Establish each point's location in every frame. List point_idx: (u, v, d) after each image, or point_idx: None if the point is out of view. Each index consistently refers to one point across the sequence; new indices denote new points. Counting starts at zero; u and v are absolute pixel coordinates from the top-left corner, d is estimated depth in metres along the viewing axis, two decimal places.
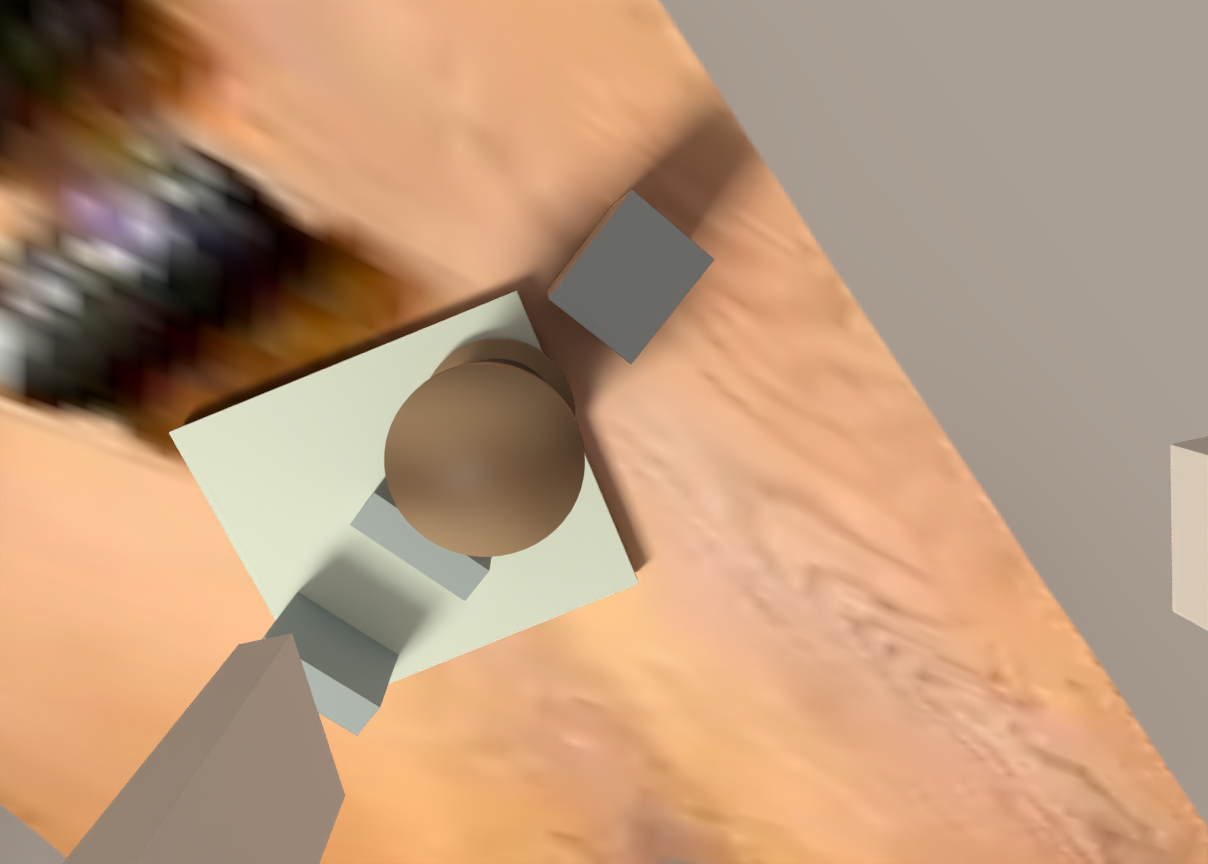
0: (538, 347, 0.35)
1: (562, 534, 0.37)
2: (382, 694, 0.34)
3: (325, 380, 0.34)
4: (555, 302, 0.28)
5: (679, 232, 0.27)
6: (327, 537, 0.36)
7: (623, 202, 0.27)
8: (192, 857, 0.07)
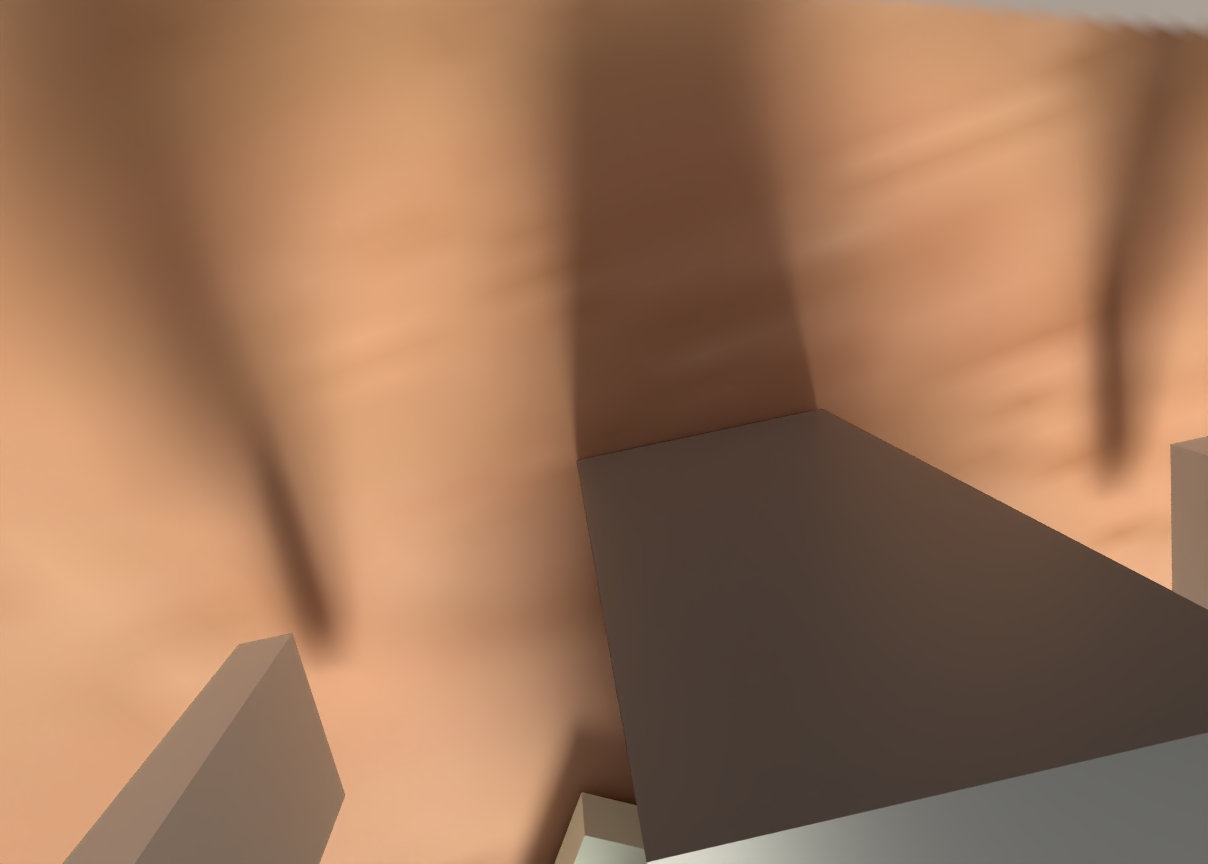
0: None
1: None
2: None
3: None
4: None
5: (1074, 772, 0.04)
6: None
7: None
8: (192, 857, 0.07)
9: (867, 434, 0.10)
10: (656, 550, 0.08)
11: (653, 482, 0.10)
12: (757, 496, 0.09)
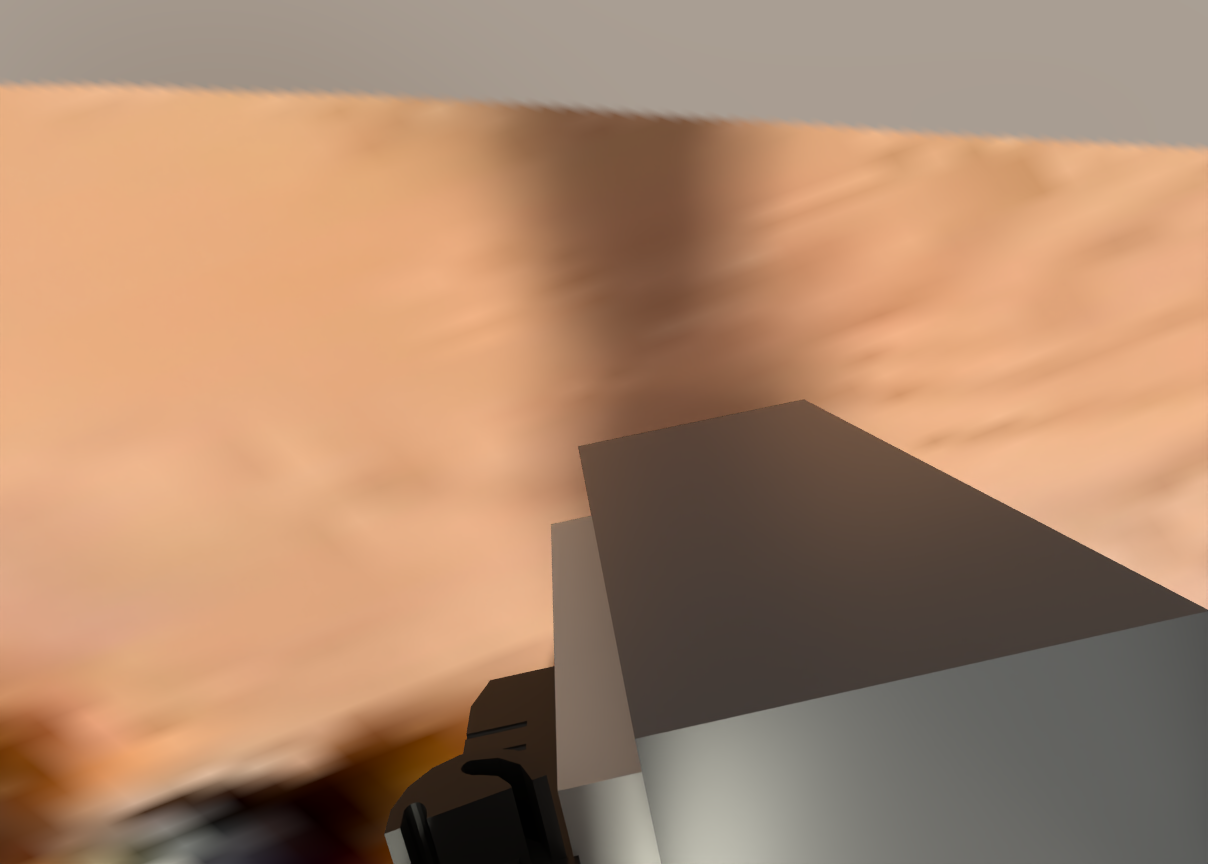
0: None
1: None
2: None
3: None
4: None
5: (974, 671, 0.05)
6: None
7: (654, 802, 0.05)
8: None
9: (842, 421, 0.11)
10: (649, 518, 0.09)
11: (647, 463, 0.11)
12: (739, 475, 0.10)
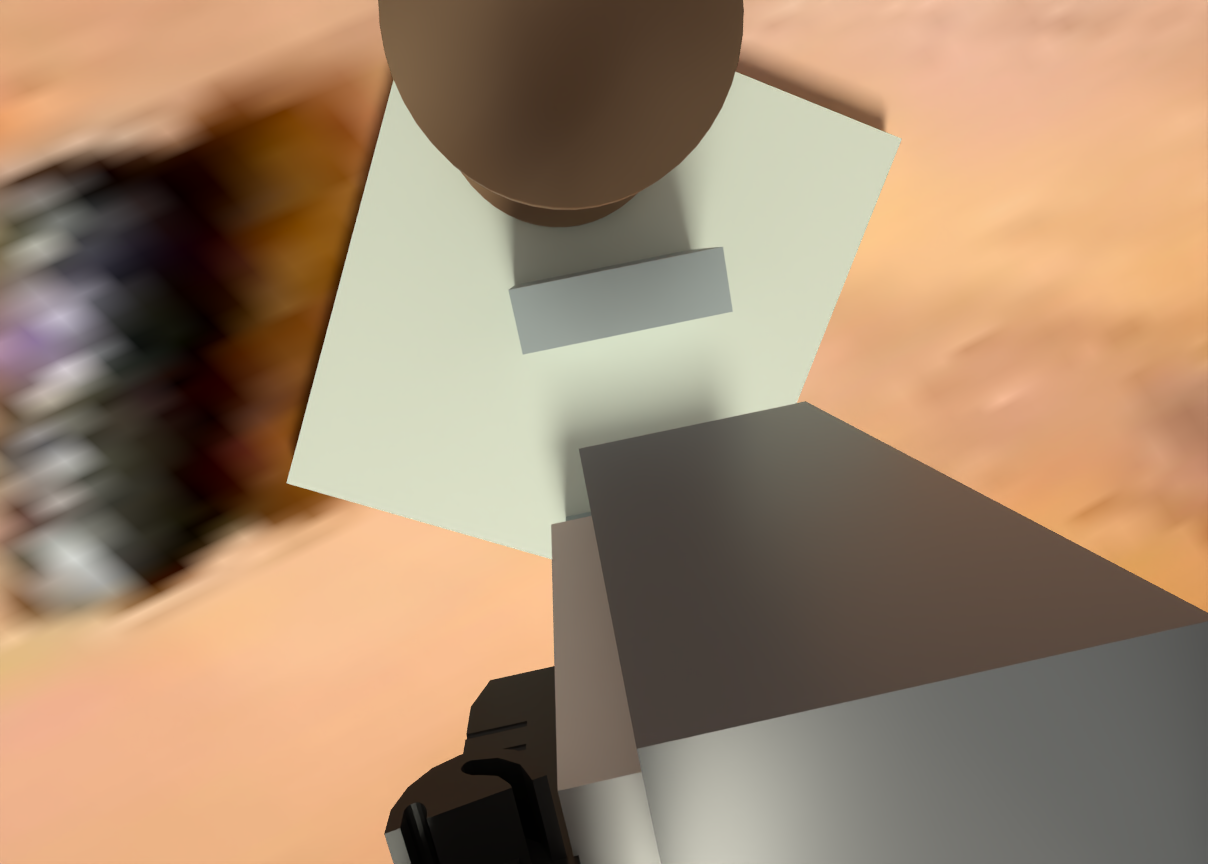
0: None
1: (761, 173, 0.24)
2: None
3: (359, 271, 0.24)
4: None
5: (980, 680, 0.05)
6: (534, 433, 0.26)
7: (656, 813, 0.05)
8: None
9: (844, 423, 0.11)
10: (650, 523, 0.09)
11: (648, 466, 0.11)
12: (741, 478, 0.10)
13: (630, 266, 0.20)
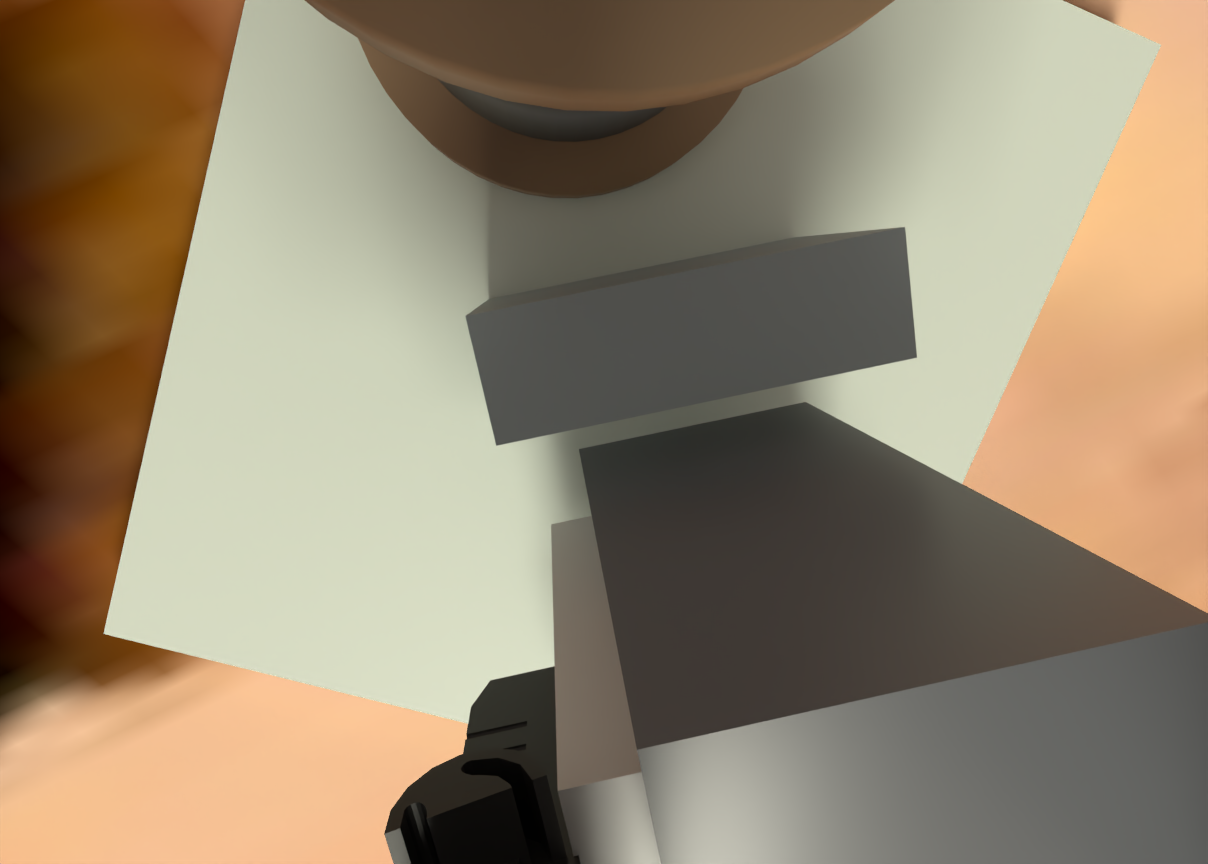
0: None
1: (918, 104, 0.14)
2: None
3: (213, 275, 0.14)
4: None
5: (980, 680, 0.05)
6: (523, 546, 0.15)
7: (656, 813, 0.05)
8: None
9: (844, 423, 0.11)
10: (650, 522, 0.09)
11: (649, 466, 0.11)
12: (741, 478, 0.10)
13: (717, 267, 0.10)
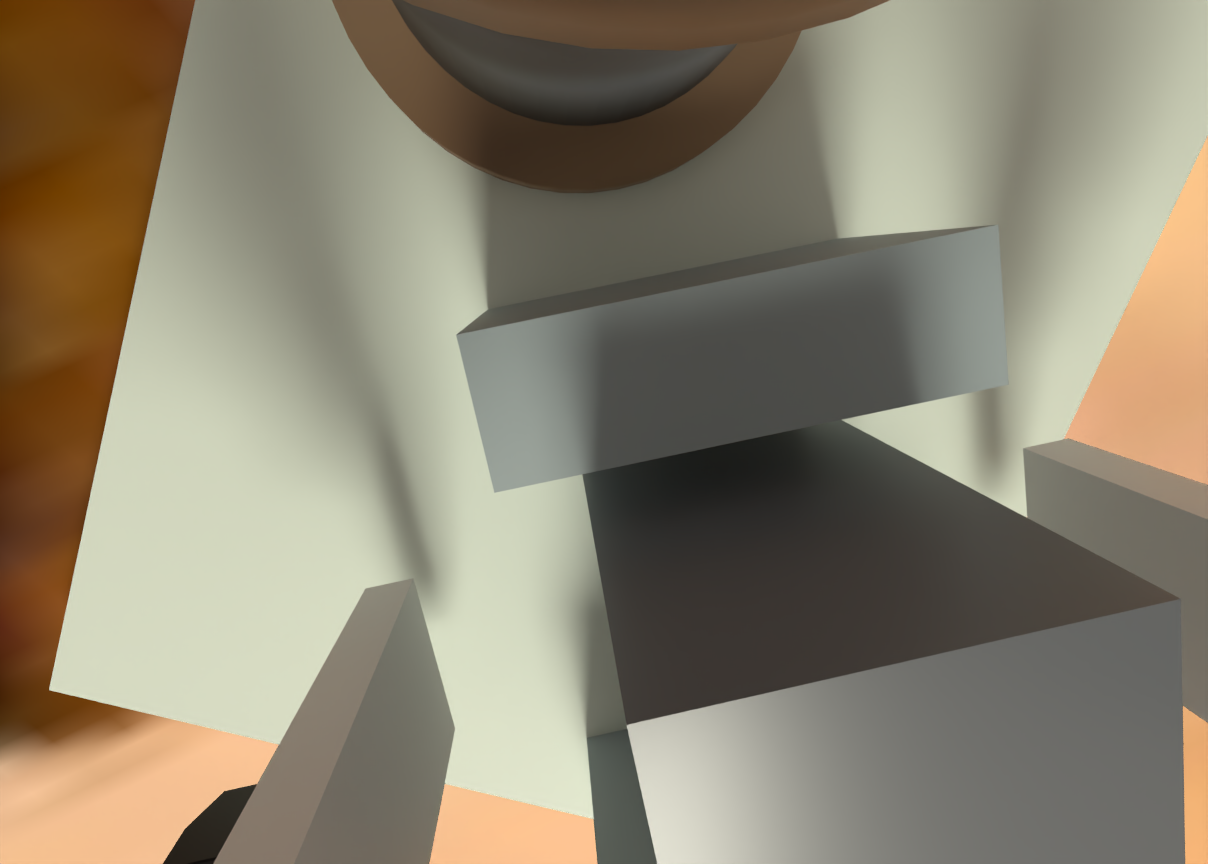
0: None
1: (984, 84, 0.12)
2: None
3: (169, 282, 0.12)
4: None
5: (953, 659, 0.05)
6: (526, 590, 0.13)
7: (646, 786, 0.05)
8: (374, 751, 0.08)
9: None
10: (645, 515, 0.09)
11: (645, 462, 0.11)
12: (734, 471, 0.10)
13: (766, 274, 0.08)
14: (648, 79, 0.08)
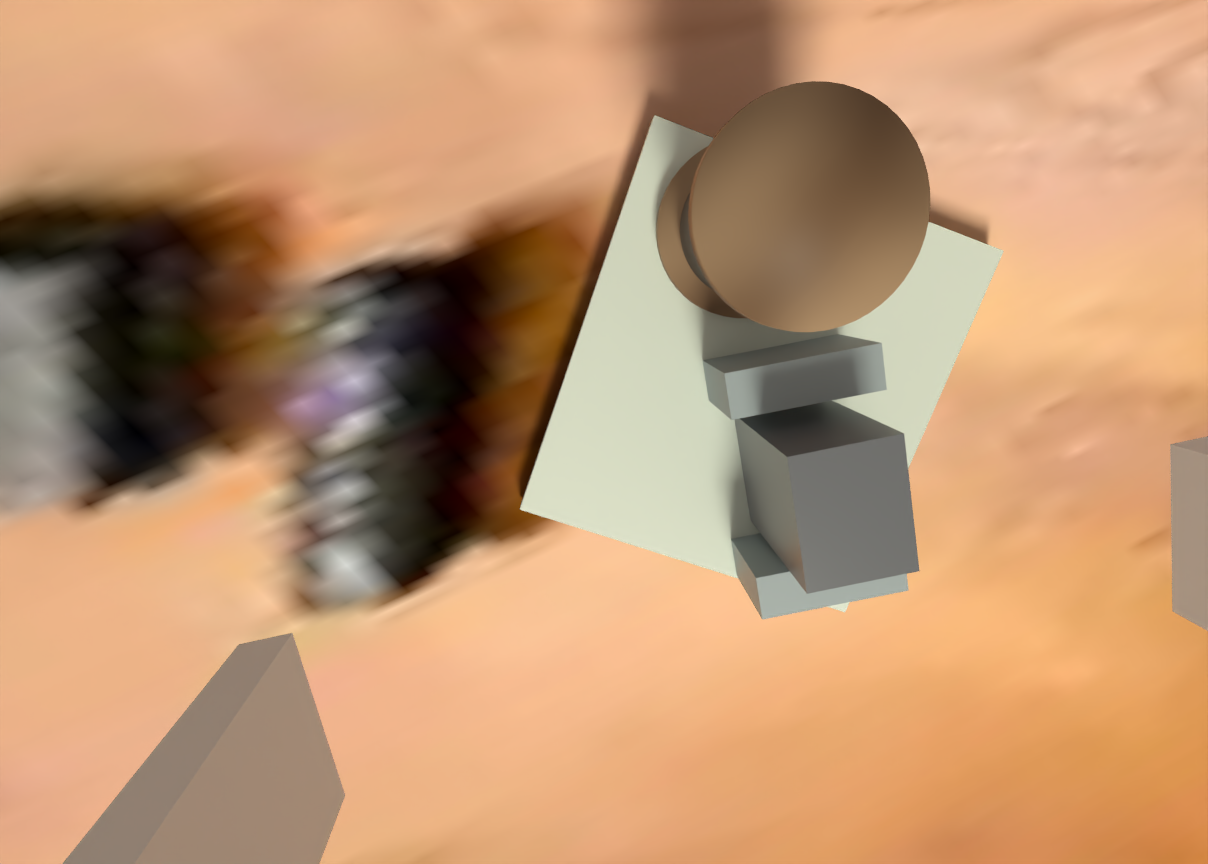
0: None
1: None
2: None
3: (586, 349, 0.31)
4: (815, 590, 0.26)
5: (855, 445, 0.25)
6: (710, 473, 0.33)
7: (790, 472, 0.25)
8: (192, 857, 0.07)
9: (835, 402, 0.31)
10: (773, 429, 0.28)
11: (766, 417, 0.31)
12: (800, 418, 0.29)
13: (813, 357, 0.27)
14: None
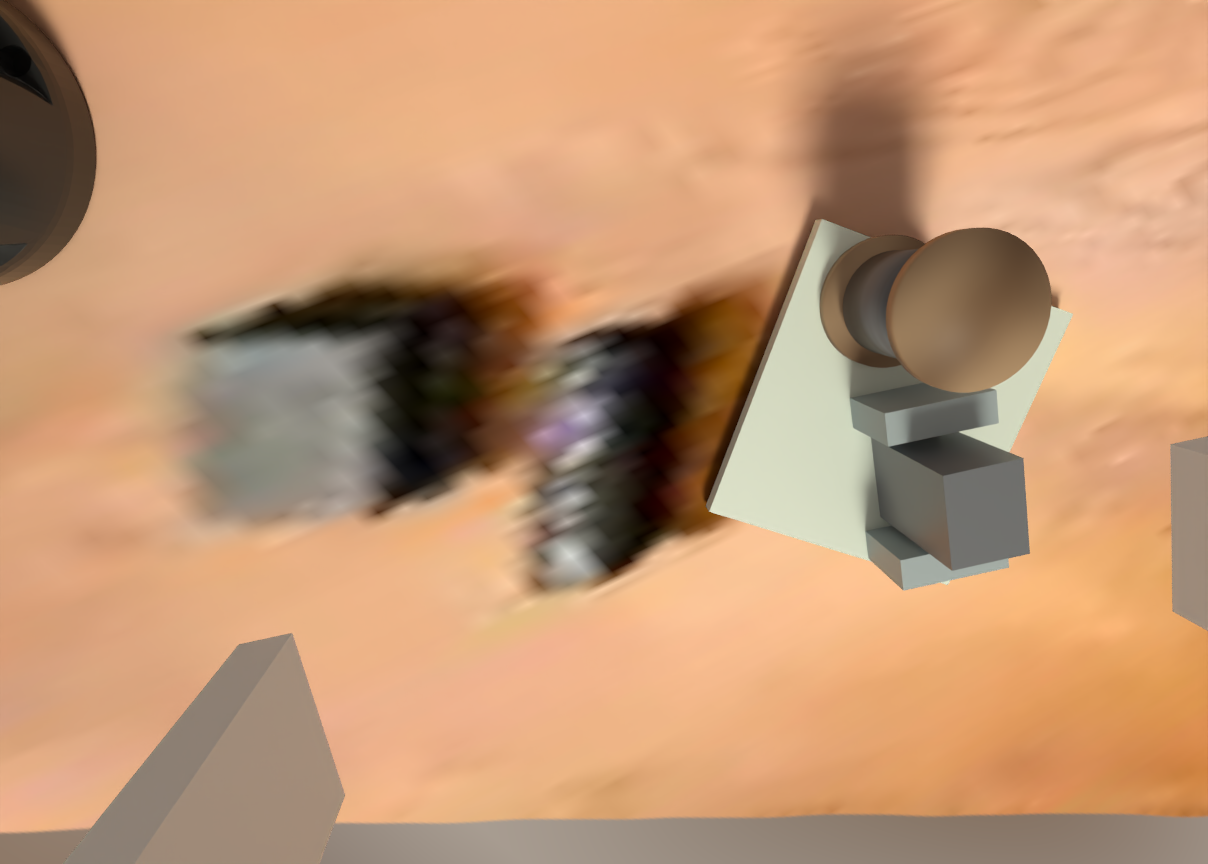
0: (867, 237, 0.40)
1: None
2: None
3: (764, 391, 0.42)
4: (957, 568, 0.36)
5: (989, 466, 0.35)
6: (851, 482, 0.43)
7: (944, 486, 0.35)
8: (193, 857, 0.07)
9: None
10: (916, 452, 0.39)
11: None
12: (932, 443, 0.40)
13: (948, 400, 0.38)
14: None
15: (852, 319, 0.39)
